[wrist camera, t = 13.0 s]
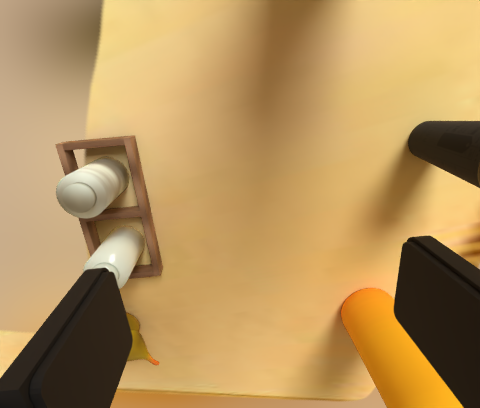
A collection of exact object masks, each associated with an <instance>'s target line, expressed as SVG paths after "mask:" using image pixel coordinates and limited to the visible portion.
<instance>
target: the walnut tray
mask: <svg viewBox="0 0 480 408" xmlns="http://www.w3.org/2000/svg"><path fill="white" fill-rule="evenodd" d="M119 145H125V148H126V152H127V156H128V161H129V165H130V170H131V174H132V178H133V183H134V187H135V191H136V196H137V200H138V205H139V206H134V207H123V208H113V209H105V208H106V207H107V206H108V205H109V204H110V203H111V202H113V201H114V200H115V199H116V198H117V197H118V196H119V195H120V194H121V193H122V192H123V191H124V190H125V189H126V187H127V186H128V183H129V174H128V171H127V169H126V168H125V166H124V165H123V164H122V163H121V162H119V161H118V160H116V159H114V158H110V157H103V158H99V159H97V160H95V161H93V162H91V163H89V164H87V165H85V166H83V167H82V168H80V169H78V166H77V162H76V159H75V156H74V152H73V150H75V149H86V148H97V147H108V146H119ZM56 148H57V151H58V154H59V158H60V160H61V164H62V167H63V170H64V173H65V177H63V178H62V179H61V180H60V181H59V183H58V185H57V188H56V196H57V199H58V201H59V204H60V205H61V206H62V208H63V209H64V210H65V211H66V212H68V213H69V214H71V215H73V216H75V217H78V218H79V221H80V224H81V227H82V230H83V234H84V237H85V240H86V243H87V246H88V249H89V253H90V256H92V255H93V254H94V252H95V251H96V250H97V249H98V247H99V246H100V245H101V243H100V240H99V237H98V233H97V230H96V227H95V223H94V221H99V220H109V219H120V218H130V217H141V218H142V222H143V227H144V231H145V235H146V240H147V244H148V249H149V253H150V257H151V262H152V264H150V265H140V266H134V268H133V270H132V272H131V274H130V276H129V278H128V279H130V278H140V277H150V276H160V275H161V272H162V269H163V266H162V261H161V256H160V252H159V247H158V242H157V238H156V233H155V228H154V223H153V219H152V214H151V209H150V205H149V200H148V195H147V191H146V186H145V181H144V176H143V172H142V167H141V162H140V158H139V153H138V148H137V144H136V139H135V136H124V137H113V138H102V139H90V140H80V141H68V142H62V143H59V144H56Z"/></svg>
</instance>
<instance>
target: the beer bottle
mask: <svg viewBox="0 0 480 408" xmlns="http://www.w3.org/2000/svg"><path fill="white" fill-rule="evenodd" d="M394 301H395V300H394V299H393V298H392V297H391V296H390V295H389V294H388V293H386V292H385V291H383V290H380V289H376V288H366V289H362V290H359V291H357V292H355V293H353V294H352V295H351V296H349V297H348V298H347V299H346V301H345V302H344V304H343V306H342V310H341V318H342V321H343V324H344V327H345V328H346V330H347V332H348V334H349V335H350V337H351V339H352V341H353V343H354V345H355V347H356V349H357V351H358V352H359V354H360V356H361V358H362V360H363V362H364V364H365V366H366V368H367V370H368V372H369V374H370V376H371V378H372V379H373V381H374V383H375V385H376V387H377V389H378V391H379V393H380V395H381V397H382V399H383V400H384V402H385V404H386V406H387V408H464V407H463V406H462V405H461V403H460V402H459V401H458V400H457V398H456V397H455V396H454V394H453V393H452V392H451V390H450V389H449V388H448V386H447V385H446V384H445V382H444V381H443V380H442V379H441V377H440V376H439V375H438V373H437V372H436V371H435V369H434V368H433V367H432V365H431V364H430V363H429V361H428V360H427V359H426V358H425V356H424V355H423V354H422V352H421V351H420V350H419V348H418V347H417V346H416V344H415V343H414V342H413V340H412V339H411V338H410V337H409V335H408V334H407V333H406V331H405V330H404V329H403V327H402V326H401V325H400V323H399V322H398V321H397V319H396V317H395V315H394Z"/></svg>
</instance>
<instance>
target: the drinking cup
mask: <svg viewBox="0 0 480 408" xmlns="http://www.w3.org/2000/svg"><path fill="white" fill-rule="evenodd" d="M408 146H409V149H410V151H411V153H412V154H414V155H415V156H417V157H419V158H421V159H423V160H425V161H427V162H429V163H431V164H433V165H435V166H437V167H439V168H441V169H443V170H445V171H447V172H449V173H451V174H453V175H455V176H457V177H459V178H461V179H463V180H465V181H467V182H469V183H471V184H473V185H475V186H477V187H479V188H480V121H426V122H423V123H421V124H419V125H418V126H417V127H416V128H415V129H414V130H413V131H412V133H411V134H410V137H409V141H408Z"/></svg>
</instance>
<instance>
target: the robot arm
mask: <svg viewBox="0 0 480 408" xmlns="http://www.w3.org/2000/svg"><path fill="white" fill-rule="evenodd" d="M394 315H395V317H396V319H397V321H398V322H399V323H400V325H401V326H402V327H403V329H404V330H405V331H406V333H407V334H408V335H409V337H410V338H411V339H412V340H413V342H414V343H415V344H416V346H417V347H418V348H419V350H420V351H421V352H422V354H423V355H424V356H425V358H426V359H427V360H428V361H429V363H430V364H431V365H432V367H433V368H434V369H435V371H436V372H437V373H438V375H439V376H440V377H441V379H442V380H443V381H444V382H445V384H446V385H447V386H448V388H449V389H450V390H451V392H452V393H453V394H454V396H455V397H456V398H457V400H458V401H459V402H460V403H461V405H462V406H463V407H464V408H480V270H479V269H478V268H477V267H475V266H474V265H472V264H471V263H469V262H468V261H466V260H465V259H464V258H462V257H461V256H459V255H458V254H456V253H455V252H453V251H452V250H451V249H449V248H448V247H446V246H445V245H443V244H442V243H440V242H439V241H437V240H436V239H435V238H433V237H431V236H419V237H410V238H409V239H408V240H407V242H405V243H404V244H403V246H402V252H401V259H400V266H399V273H398V280H397V287H396V294H395V301H394ZM132 343H133V337H132V332H131V329H130V325H129V322H128V318H127V315H126V312H125V308H124V305H123V301H122V298H121V294H120V291H119V287H118V284H117V280H116V277H115V274H114V272H112V271H111V272H109V270H108V269H107V268H95V269H87V270H85V271H84V272H83V274H82V275H81V276H80V277H79V279H78V280H77V281H76V283H75V284H74V285H73V286H72V288H71V289H70V290H69V291H68V293H67V294H66V295H65V297H64V298H63V299H62V300H61V302H60V303H59V304H58V306H57V307H56V308H55V309H54V311H53V312H52V313H51V314H50V316H49V317H48V318H47V320H46V321H45V322H44V323H43V325H42V326H41V327H40V328H39V330H38V331H37V332H36V334H35V335H34V336H33V337H32V339H31V340H30V341H29V342H28V344H27V345H26V346H25V348H24V349H23V350H22V351H21V353H20V354H19V355H18V356H17V358H16V359H15V360H14V362H13V363H12V364H11V365H10V367H9V368H8V369H7V370H6V372H5V373H4V374H3V376H2V377H1V378H0V408H110V406H111V403H112V400H113V398H114V395H115V392H116V389H117V387H118V384H119V381H120V378H121V376H122V373H123V370H124V367H125V365H126V362H127V359H128V356H129V354H130V351H131V348H132Z"/></svg>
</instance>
